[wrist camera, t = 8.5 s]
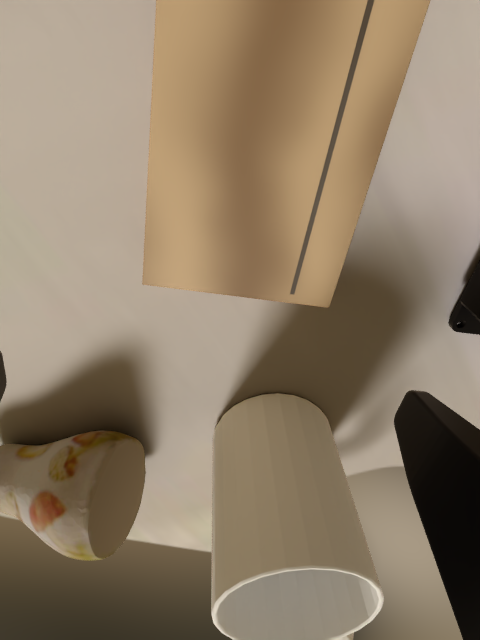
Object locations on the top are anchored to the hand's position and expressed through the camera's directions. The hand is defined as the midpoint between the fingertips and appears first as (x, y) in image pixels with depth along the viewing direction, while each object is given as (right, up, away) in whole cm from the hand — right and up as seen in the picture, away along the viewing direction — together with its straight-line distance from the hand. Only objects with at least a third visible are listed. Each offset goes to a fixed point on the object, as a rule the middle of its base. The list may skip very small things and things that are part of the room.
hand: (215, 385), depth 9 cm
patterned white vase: (-11, -7, +19) cm, 23 cm away
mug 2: (+4, -8, +20) cm, 21 cm away
